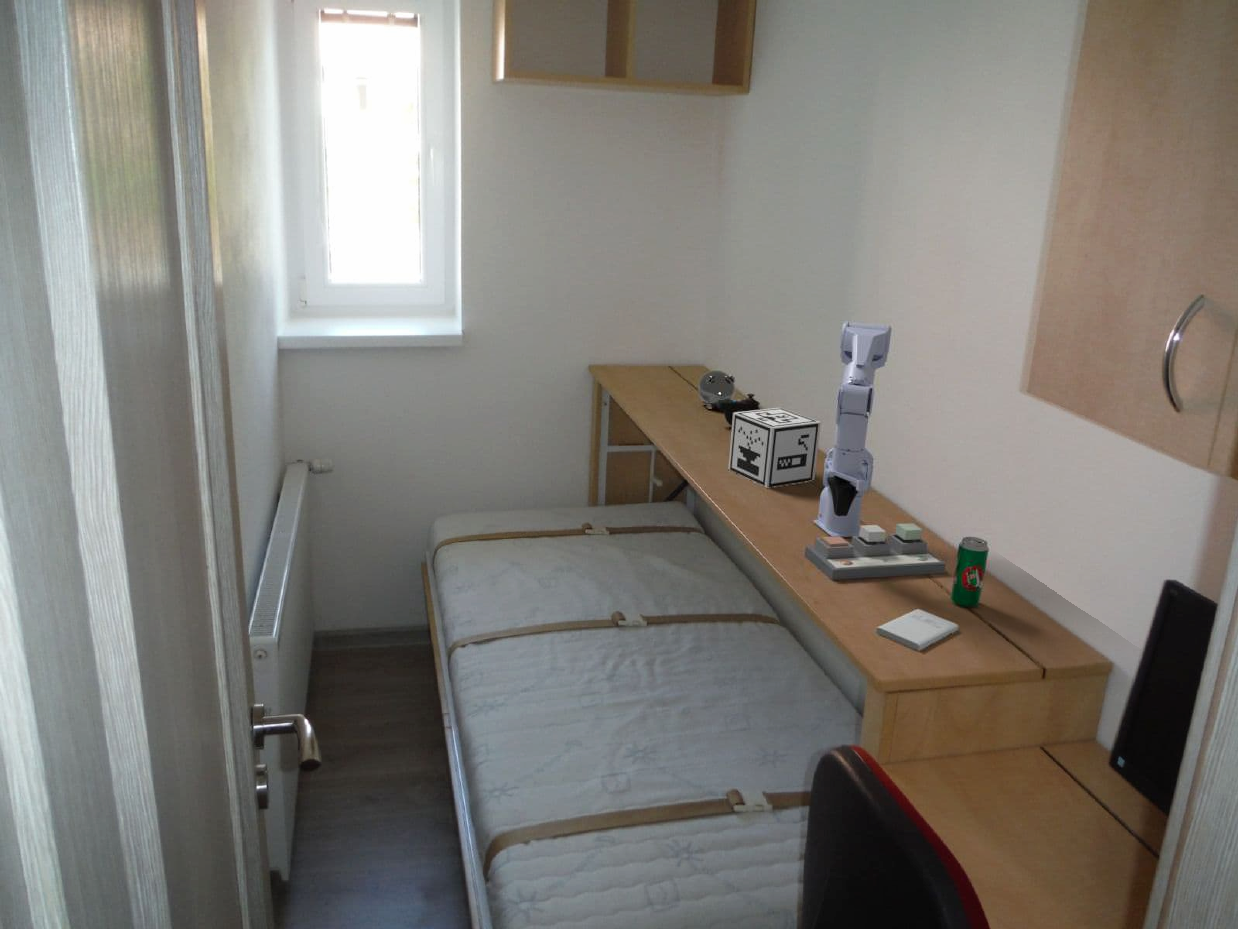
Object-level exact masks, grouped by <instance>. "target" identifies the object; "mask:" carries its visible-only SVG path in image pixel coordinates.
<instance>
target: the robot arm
mask: <svg viewBox="0 0 1238 929" xmlns="http://www.w3.org/2000/svg"><path fill="white" fill-rule="evenodd" d="M892 330H893V329H892V326H890V324H886V325H885V324H873V323H865V322H864V323H863V322H852V321H849V320H846V321H845V322H844V323H842V330H841V337H840V343H839V344H840V347H839V349H840V358H841V359H840V361H841V363H843V364H844V365H846V366H845V369H844V373H843V378H842V383H841V386H838V389H837V396H836V403H835V404H836V405H835V411H836V413H835V414H836V416H835V424H836V426H835V432H834V433H835V435H834V439H833V440H834V442H833V448H830V449H829V450H828V452H827V453H826V458H825V459H824V463H823V468H824V470H823V478H822V484H823V486H824V488H823V490H822V491H821V493H820V497H819V498H820V499H819V505H818V506H819V507H818V515H817V519H813V524H816V526H818V527H819V528H820V529H821V530H823V531H824V532H825V533H827V535H829V537H834V536H839V537H842V538H848V537H849V538H850V537H851V538H852V536H860V535H859V533H860V522H861V514H862V508H863V507H862V506H863V502H864V501H863V499H864V495H865V493H869V492H870V491H871V486H872V479H873V472H874V471H873V470H874V458H873V457H874V456H873V454H872V453H871V452H870V451H869V450H868V449H867V448H865V446H866V441H867V434H868V433H867V432H868V426H869V424H868V423H869V418H870V417H871V414H872V411H873V405H874V404H873V403H874V399H875V398H874V396H875V390H874V380H875V374H876V370H877V369H880V368H883V367H885V366H886V362H887V361H888V354H889V351H890V344H891V336H892ZM867 413H868V414H867Z"/></svg>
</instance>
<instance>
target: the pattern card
mask: <svg viewBox="0 0 1238 929" xmlns="http://www.w3.org/2000/svg"><path fill="white" fill-rule="evenodd" d="M827 561H828V562H829V563H831V564H832V565H833V566H834V567H835V568H836V569H841V568H858V567H875V566H892V565H909V564H925V563H940V561H939V560H937V559H936V558H934V557H933V556H931V555H930V554H917V555H900V556H882V557H864V558H847V559H829V560H827Z"/></svg>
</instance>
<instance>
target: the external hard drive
mask: <svg viewBox="0 0 1238 929" xmlns="http://www.w3.org/2000/svg"><path fill="white" fill-rule="evenodd" d="M956 630H958V631H959V625H958V624H957V623H955V622H953V621H950V620H948V619H945V618H942V617H939V616H936V615H934V614H932V613H930V612H927V611H925V610H922V609H919V608H917V609H915V610H913V611H910V612H908V613H905V614H903V615H902V616H899V617H897V618H894V619H893V620H890V621H888V622H886V623H884V624H881V625H880V626H877V627H876V631H875V633H876V634H878V635H880V636H883V637H885V638H887V639H889V640H891V641H894V642H897V643H898V644H900V645H901V644H902V645H904V646H906V647H908V648H910V649H913V650H915V651H917V650H918V652H920V651H921V650H924V649H926V648H927V647H929V645H930V644H931V645H933V644H935V643H937V642H939V641H941V640H943V639H944V638H943V637H945V638H947V637H948V636H947V635H949V634H950V633H952V634H954V633H955V632H954V631H956ZM953 632H954V633H953ZM956 632H957V631H956ZM946 636H947V637H946ZM949 636H950V635H949ZM942 638H943V639H942ZM940 639H941V640H940ZM938 640H939V641H938ZM936 641H937V642H936ZM932 643H933V644H932ZM931 645H930V646H931ZM925 647H926V648H925Z"/></svg>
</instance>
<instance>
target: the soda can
mask: <svg viewBox="0 0 1238 929" xmlns="http://www.w3.org/2000/svg"><path fill="white" fill-rule="evenodd" d="M989 549H990V548H989V546H988V541H987V540H985V539H983V538H980V537H976V536H965V537H962V539H961V541H960V542H959V543H958V549H957V554H956V560H955V567H954V571H953V572H954V574H953V577H952V578H953V580H952V587H951V592H950V599H951V601H952V602H953V603H954V604H955V605H957V606H960V607H963V608H974V607H976V606H978V605H979V604H980V603H981V597H982V593H983V592H982V590H983V584H984V579H985V573H986V569H987V568H986V566H987V561H988V557H989V556H988V555H989Z"/></svg>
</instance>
